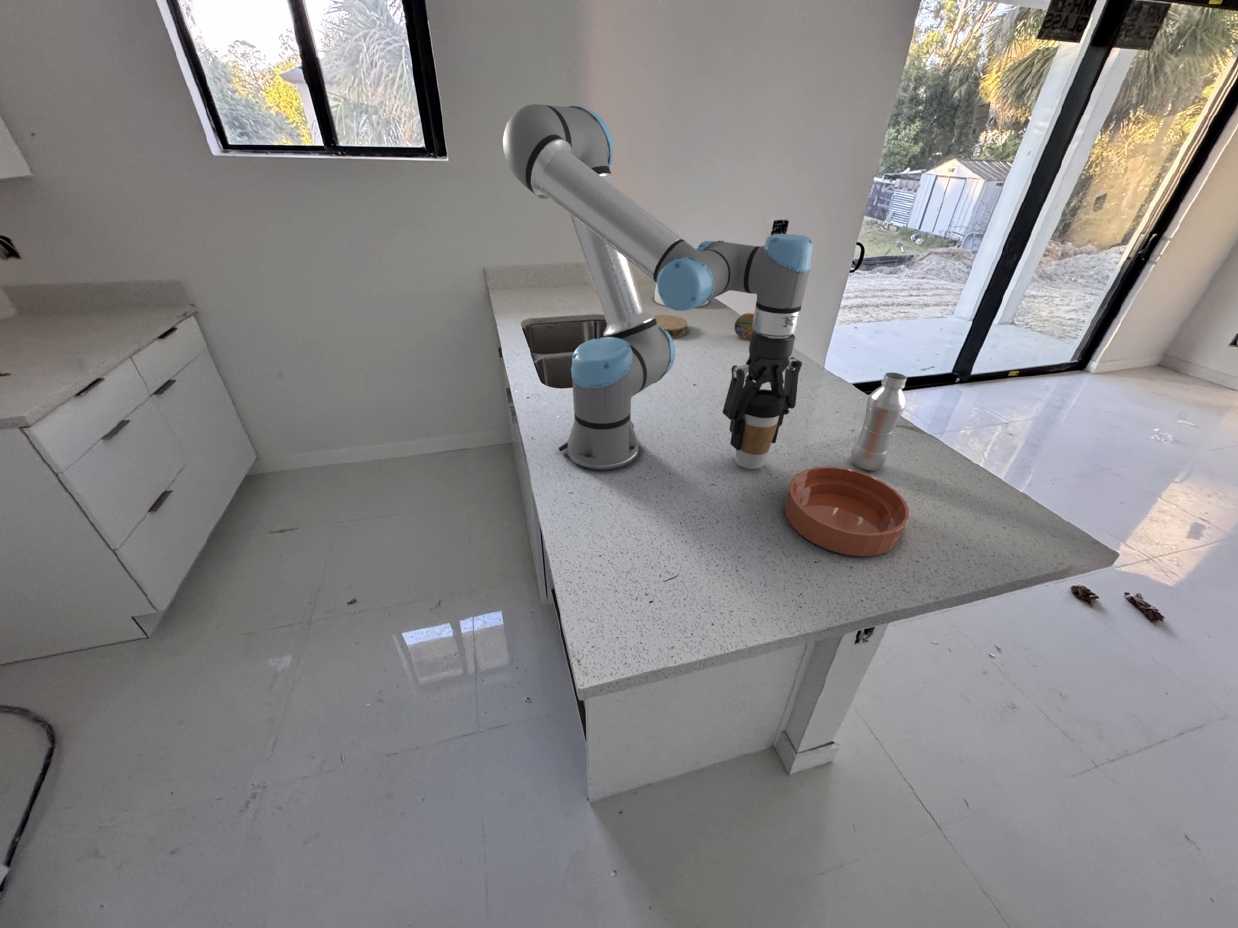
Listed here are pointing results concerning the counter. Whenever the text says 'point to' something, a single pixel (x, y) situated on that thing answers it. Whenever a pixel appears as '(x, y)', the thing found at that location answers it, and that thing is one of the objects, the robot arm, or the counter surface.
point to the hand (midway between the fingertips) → (752, 443)
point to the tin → (744, 326)
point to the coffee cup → (759, 428)
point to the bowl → (846, 511)
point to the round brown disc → (672, 324)
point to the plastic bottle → (879, 422)
